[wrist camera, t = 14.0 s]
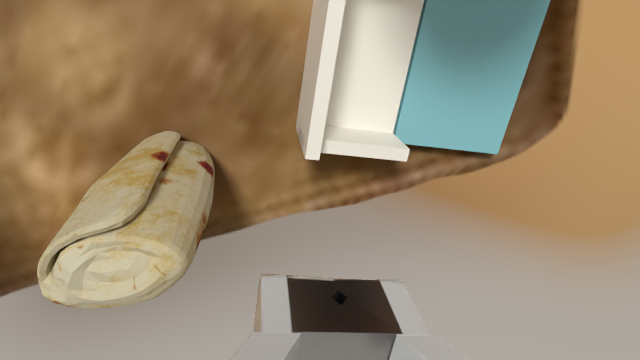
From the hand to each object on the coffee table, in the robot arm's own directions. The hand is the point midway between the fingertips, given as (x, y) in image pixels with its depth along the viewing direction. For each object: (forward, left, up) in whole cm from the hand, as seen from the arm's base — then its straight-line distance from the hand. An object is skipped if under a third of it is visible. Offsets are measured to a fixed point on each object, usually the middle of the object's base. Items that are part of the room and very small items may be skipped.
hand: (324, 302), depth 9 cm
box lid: (+13, +3, -32) cm, 35 cm away
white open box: (+8, +3, -33) cm, 34 cm away
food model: (-9, -10, -33) cm, 36 cm away
